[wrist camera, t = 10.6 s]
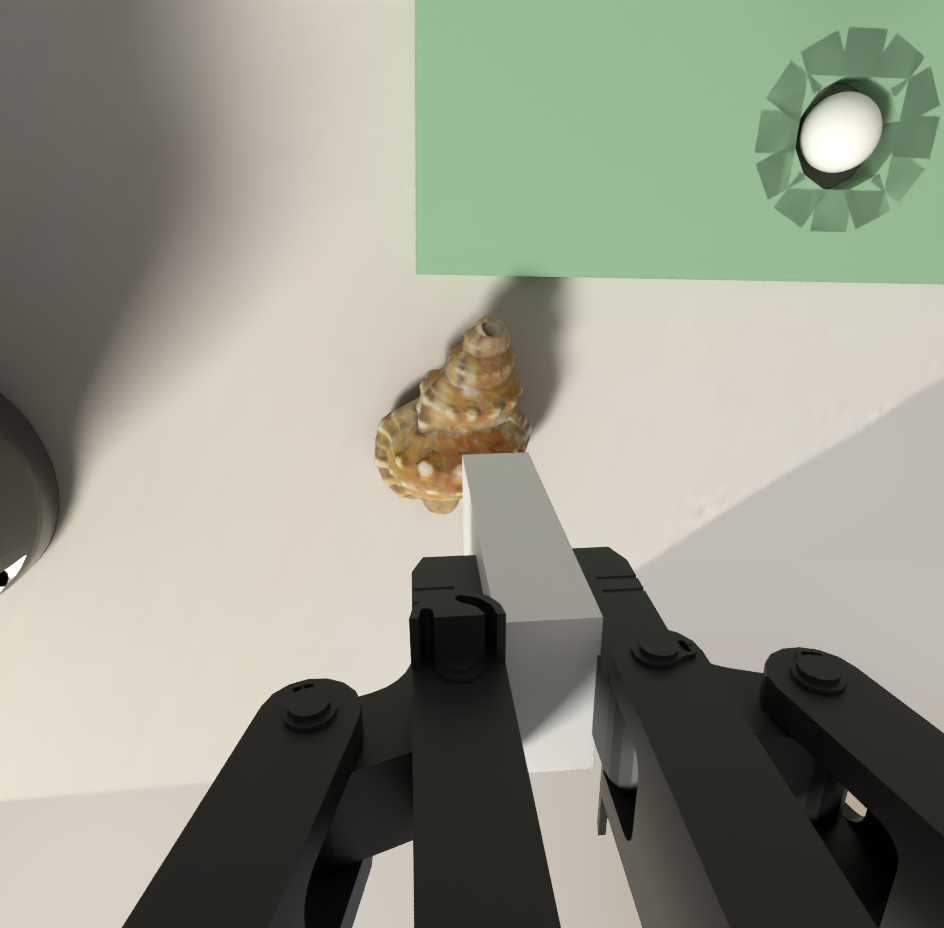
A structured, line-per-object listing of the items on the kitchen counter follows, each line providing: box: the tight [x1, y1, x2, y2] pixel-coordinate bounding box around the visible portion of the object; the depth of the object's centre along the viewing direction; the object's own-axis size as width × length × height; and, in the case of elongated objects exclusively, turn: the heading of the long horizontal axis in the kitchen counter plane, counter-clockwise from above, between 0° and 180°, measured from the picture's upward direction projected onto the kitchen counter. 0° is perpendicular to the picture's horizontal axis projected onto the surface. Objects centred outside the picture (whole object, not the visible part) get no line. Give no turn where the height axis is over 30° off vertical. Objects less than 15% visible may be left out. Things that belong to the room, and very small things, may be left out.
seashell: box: [375, 316, 532, 514], centre depth 38 cm, size 9×8×10 cm
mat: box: [415, 0, 944, 284], centre depth 35 cm, size 28×14×2 cm, turn 88°
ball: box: [800, 91, 883, 173], centre depth 34 cm, size 4×4×4 cm
